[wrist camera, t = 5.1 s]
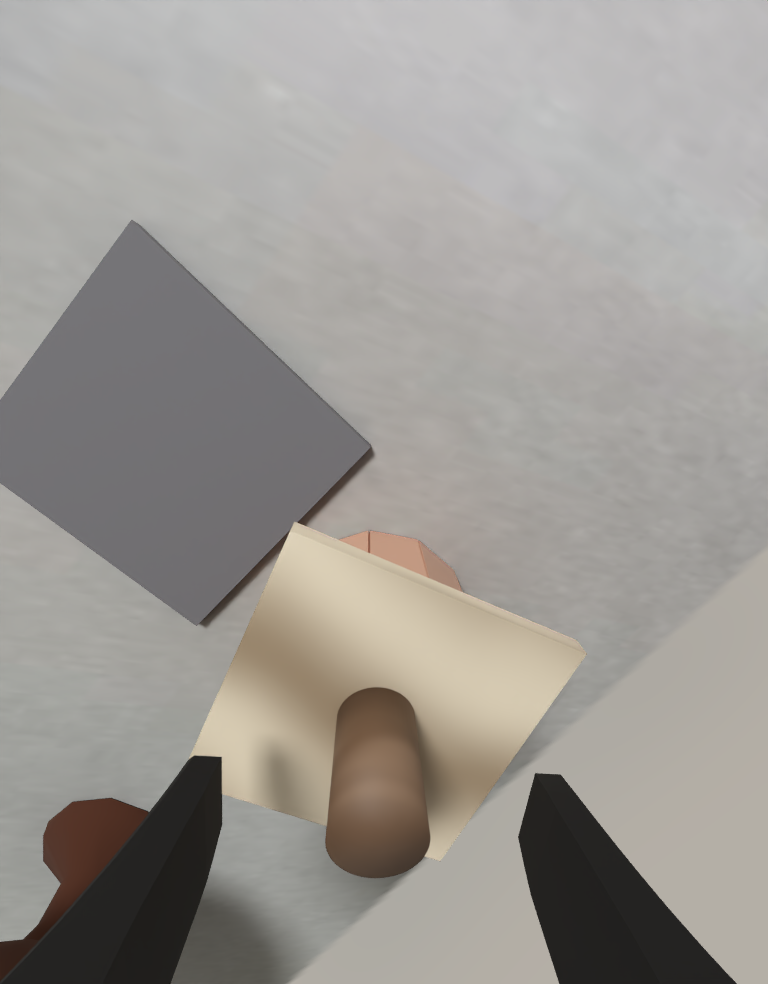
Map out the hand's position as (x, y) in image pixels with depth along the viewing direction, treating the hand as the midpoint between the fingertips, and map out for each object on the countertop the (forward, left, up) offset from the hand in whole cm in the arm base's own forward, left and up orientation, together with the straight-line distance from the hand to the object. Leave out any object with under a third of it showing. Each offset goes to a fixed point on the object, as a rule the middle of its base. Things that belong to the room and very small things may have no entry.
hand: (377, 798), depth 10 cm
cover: (0, 0, -3) cm, 3 cm away
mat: (+4, -8, -7) cm, 12 cm away
